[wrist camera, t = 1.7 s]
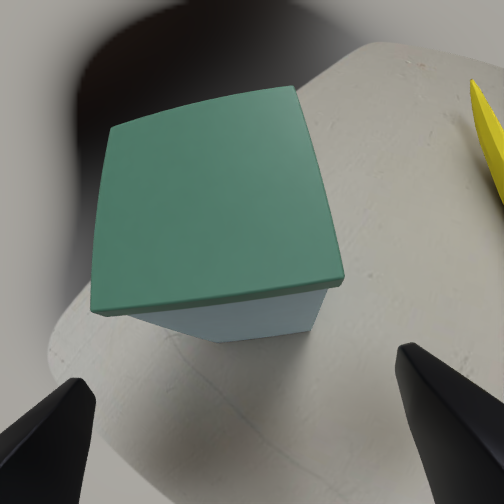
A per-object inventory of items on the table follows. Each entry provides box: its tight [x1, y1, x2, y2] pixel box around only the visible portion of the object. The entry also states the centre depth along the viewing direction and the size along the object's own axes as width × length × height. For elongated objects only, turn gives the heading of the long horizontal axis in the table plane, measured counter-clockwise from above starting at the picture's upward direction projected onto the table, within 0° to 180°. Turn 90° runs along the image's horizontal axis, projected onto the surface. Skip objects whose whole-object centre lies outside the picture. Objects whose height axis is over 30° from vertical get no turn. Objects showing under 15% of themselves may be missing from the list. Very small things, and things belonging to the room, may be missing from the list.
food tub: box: [90, 86, 345, 343], centre depth 14 cm, size 6×6×13 cm
